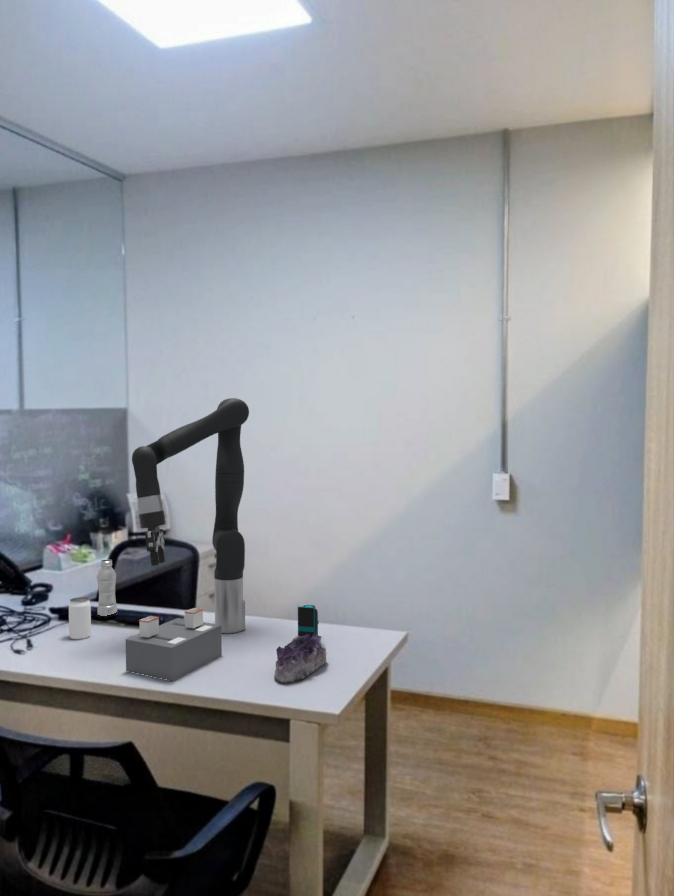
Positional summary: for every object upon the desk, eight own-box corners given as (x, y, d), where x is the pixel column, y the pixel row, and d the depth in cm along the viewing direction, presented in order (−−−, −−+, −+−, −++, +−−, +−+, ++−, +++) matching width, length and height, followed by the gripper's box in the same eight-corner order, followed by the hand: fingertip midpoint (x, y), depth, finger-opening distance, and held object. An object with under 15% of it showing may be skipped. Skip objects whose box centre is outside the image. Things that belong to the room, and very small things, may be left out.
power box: (126, 671, 191) (125, 638, 191) (178, 647, 211) (177, 617, 211) (172, 681, 184) (171, 647, 184) (221, 655, 204) (221, 624, 204)
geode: (306, 688, 180) (300, 650, 180) (266, 688, 184) (260, 651, 184) (334, 659, 199) (329, 625, 198) (297, 660, 203) (292, 626, 203)
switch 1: (139, 636, 192) (139, 619, 192) (150, 631, 196) (150, 615, 196) (148, 637, 191) (147, 621, 191) (159, 633, 195) (158, 617, 195)
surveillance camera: (324, 599, 220) (314, 608, 210) (324, 637, 220) (314, 647, 211) (307, 598, 221) (297, 606, 212) (307, 635, 222) (297, 646, 212)
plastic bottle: (121, 615, 244) (120, 559, 243) (109, 621, 238) (108, 563, 237) (105, 614, 246) (104, 557, 245) (93, 619, 240) (92, 561, 239)
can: (83, 640, 218) (83, 602, 217) (65, 639, 219) (64, 601, 218) (95, 634, 224) (94, 597, 223) (76, 633, 225) (76, 596, 225)
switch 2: (184, 627, 200) (184, 611, 200) (194, 622, 204) (194, 607, 204) (193, 628, 199) (193, 612, 199) (203, 624, 203) (203, 608, 203)
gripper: (158, 509, 208) (166, 564, 207) (168, 509, 222) (175, 560, 221) (133, 513, 208) (140, 568, 206) (144, 512, 222) (151, 563, 221)
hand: (158, 563), depth 214 cm, fingers open, 8 cm apart
